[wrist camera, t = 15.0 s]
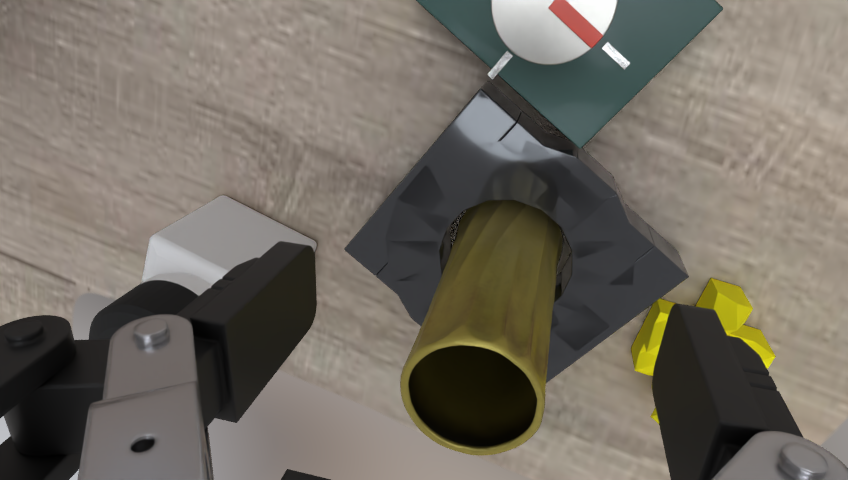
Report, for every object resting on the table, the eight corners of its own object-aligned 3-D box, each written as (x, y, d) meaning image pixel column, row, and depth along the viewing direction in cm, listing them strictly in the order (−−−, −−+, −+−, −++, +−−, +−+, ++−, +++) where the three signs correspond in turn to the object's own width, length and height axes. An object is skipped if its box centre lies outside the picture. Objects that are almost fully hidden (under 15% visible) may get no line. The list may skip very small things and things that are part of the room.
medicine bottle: (201, 276, 39) (61, 383, 28) (222, 191, 35) (74, 276, 25) (290, 322, 38) (183, 447, 28) (320, 240, 35) (212, 347, 24)
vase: (585, 238, 31) (597, 408, 18) (513, 304, 34) (479, 491, 21) (504, 169, 30) (457, 293, 18) (437, 241, 33) (356, 394, 21)
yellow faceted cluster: (780, 299, 30) (844, 391, 23) (712, 406, 33) (750, 514, 26) (672, 266, 30) (702, 345, 23) (617, 374, 34) (630, 471, 27)
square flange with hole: (355, 236, 34) (337, 257, 32) (496, 69, 28) (489, 77, 26) (519, 375, 36) (515, 406, 33) (688, 244, 30) (700, 268, 27)
